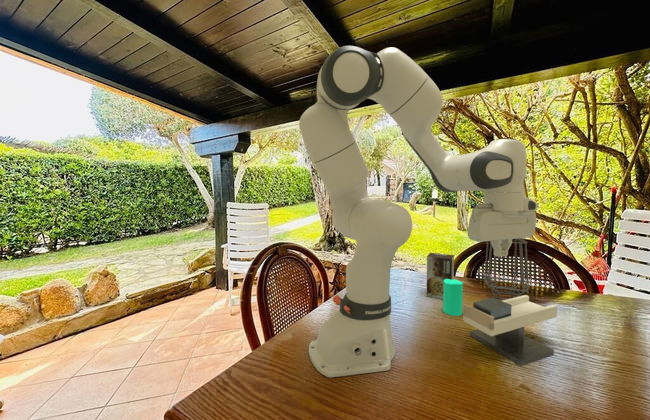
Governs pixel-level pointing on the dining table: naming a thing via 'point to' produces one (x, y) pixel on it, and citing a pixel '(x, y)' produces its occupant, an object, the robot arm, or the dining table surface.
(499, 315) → the block
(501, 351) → the pivot stand
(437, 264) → the coffee box
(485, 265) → the geometric lantern
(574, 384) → the dining table surface
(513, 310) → the beam
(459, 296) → the candle
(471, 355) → the dining table surface
